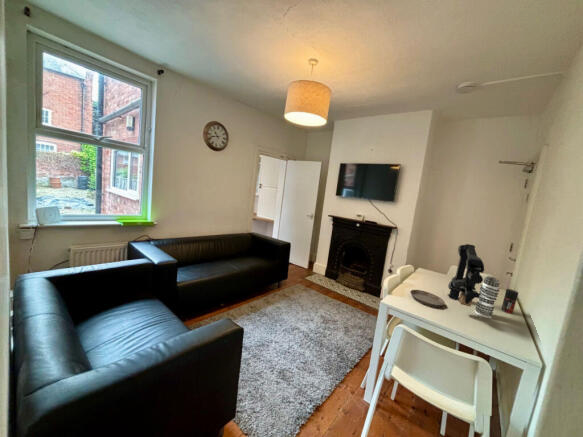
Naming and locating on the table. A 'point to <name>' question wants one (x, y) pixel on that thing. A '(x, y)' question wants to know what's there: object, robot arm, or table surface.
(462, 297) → the walnut block
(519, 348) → the table surface
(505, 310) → the deodorant
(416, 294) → the plant saucer
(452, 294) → the robot arm
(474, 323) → the table surface
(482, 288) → the decorative candle
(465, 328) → the table surface
